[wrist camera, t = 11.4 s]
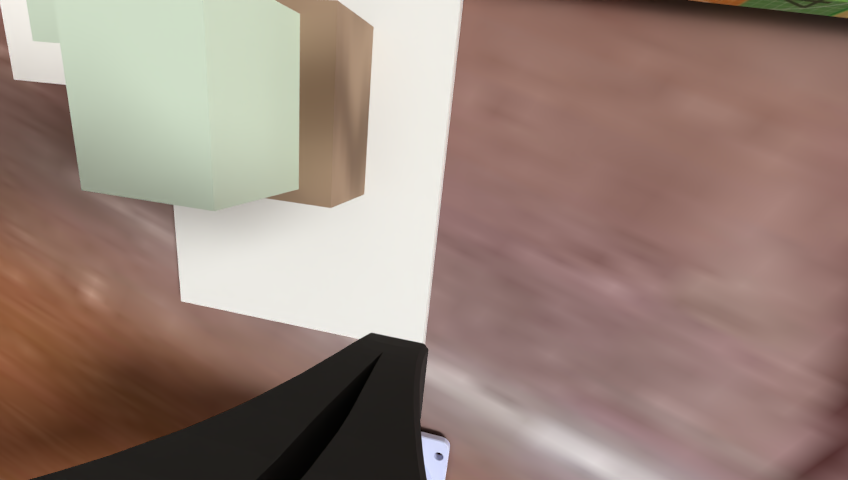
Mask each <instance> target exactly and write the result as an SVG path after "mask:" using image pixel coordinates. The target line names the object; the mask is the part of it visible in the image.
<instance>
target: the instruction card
mask: <svg viewBox="0 0 848 480" xmlns="http://www.w3.org/2000/svg"><path fill="white" fill-rule="evenodd" d="M0 5H1V10H2V16H3V21H4V27H5V33H6V38H7V44H8V49H9V55H10V60H11V66H12V72H13V77H14V80H23V81H33V82H43V83H53V84H63V85H66V81H65V74H64V68H63V61H62V54H61V47H60V40H59V34H58V27H57V20H56V13H55V6H54V0H0Z"/></svg>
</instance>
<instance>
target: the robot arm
mask: <svg viewBox="0 0 848 480" xmlns="http://www.w3.org/2000/svg"><path fill="white" fill-rule="evenodd" d="M427 356H428V348H427V347H426V346H425V344H423V343H419V342H414V341H409V340H405V339H400V338H395V337H390V336H386V335H381V334H376V333H369V334H368V335H366V336H364V337H362V338H361V339H359V340H357V341H356V342H354V343H352V344H351V345H349V346H347V347H346V348H344V349H342V350H341V351H339V352H337V353H336V354H334V355H333V356H331V357H329V358H327V359H326V360H324V361H322V362H321V363H319V364H317V365H315V366H314V367H312V368H310V369H309V370H307V371H305V372H303V373H302V374H300V375H298V376H296V377H294V378H292V379H290V380H288V381H286V382H284V383H283V384H281V385H279V386H277V387H275V388H273V389H271V390H269V391H267V392H265V393H263V394H261V395H260V396H258V397H256V398H254V399H252V400H250V401H247V402H245V403H243V404H241V405H239V406H237V407H235V408H232V409H230V410H228V411H226V412H223V413H221V414H219V415H216V416H214V417H212V418H209V419H207V420H204V421H202V422H200V423H197V424H195V425H192V426H190V427H187V428H185V429H182V430H180V431H177V432H174V433H171V434H169V435H166V436H163V437H160V438H157V439H155V440H152V441H149V442H146V443H143V444H141V445H138V446H135V447H132V448H129V449H127V450H124V451H121V452H118V453H115V454H113V455H110V456H107V457H103V458H100V459H97V460H94V461H91V462H88V463H84V464H81V465H78V466H75V467H71V468H68V469H65V470H62V471H58V472H55V473H51V474H48V475H44V476H41V477H37V478H34V479H30V480H445V478H446V471H447V464H448V457H449V450H450V443H449V441H448V440H447V439H446V438H444V437H441V436H437V435H433V434H429V433H425V432H421V426H420V418H421V411H422V402H423V393H424V383H425V374H426V365H427ZM437 453H441V454H442V455H438V454H437Z"/></svg>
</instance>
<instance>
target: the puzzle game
mask: <svg viewBox="0 0 848 480" xmlns="http://www.w3.org/2000/svg"><path fill="white" fill-rule="evenodd" d="M690 1H699V2H708V3H717V4H726V5H735V6H744V7H753V8H762V9H771V10H780V11H789V12H798V13H807V14H816V15H825V16H834V17H843V18H848V0H690Z"/></svg>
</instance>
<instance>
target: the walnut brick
mask: <svg viewBox="0 0 848 480" xmlns="http://www.w3.org/2000/svg"><path fill="white" fill-rule="evenodd" d="M275 1H277V2H279V3H281V4H283V5H285V6H286V7H288V8H290V9H292V10H294V11H296V12H298V13H299V14H300V86H299V189H298V190H294V191H290V192H286V193H282V194H279V195H275V196H271V197H267V199H274V200H280V201H287V202H294V203H301V204H307V205H314V206H321V207H327V208H332V207H335V206H337V205H340V204H342V203H345V202H347V201H349V200H352V199H354V198H357V197H359V196H362V195H364V191H365V173H366V155H367V137H368V119H369V101H370V83H371V66H372V48H373V30H374V27H373V26H372V25H370V24H369V23H368V22H366V21H365V20H364V19H362V18H361V17H360V16H358V15H357V14H355V13H354V12H353V11H351V10H350V9H349V8H347V7H346V6H345V5H343V4H342V3H340V2H339V1H338V0H275Z"/></svg>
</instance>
